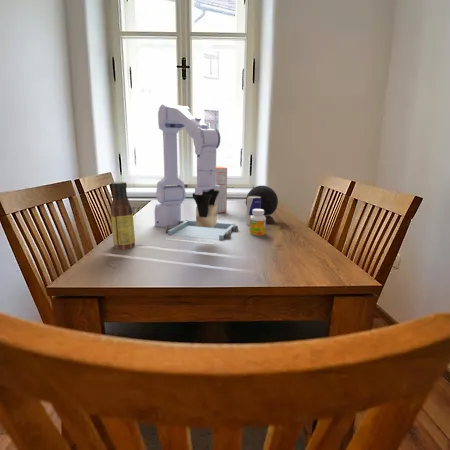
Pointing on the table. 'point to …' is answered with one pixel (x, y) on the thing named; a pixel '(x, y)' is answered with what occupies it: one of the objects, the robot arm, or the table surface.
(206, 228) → the truck bed
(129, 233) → the sauce bottle
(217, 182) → the cracker box
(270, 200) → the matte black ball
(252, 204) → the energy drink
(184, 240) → the tailgate
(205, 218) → the light wooden block
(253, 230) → the supplement bottle
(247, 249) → the table surface
